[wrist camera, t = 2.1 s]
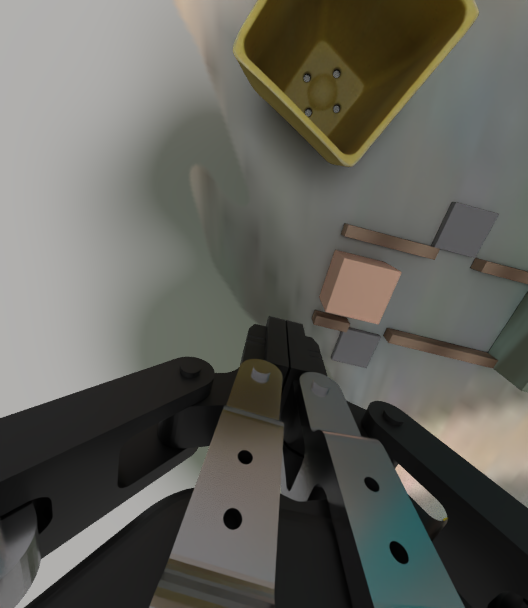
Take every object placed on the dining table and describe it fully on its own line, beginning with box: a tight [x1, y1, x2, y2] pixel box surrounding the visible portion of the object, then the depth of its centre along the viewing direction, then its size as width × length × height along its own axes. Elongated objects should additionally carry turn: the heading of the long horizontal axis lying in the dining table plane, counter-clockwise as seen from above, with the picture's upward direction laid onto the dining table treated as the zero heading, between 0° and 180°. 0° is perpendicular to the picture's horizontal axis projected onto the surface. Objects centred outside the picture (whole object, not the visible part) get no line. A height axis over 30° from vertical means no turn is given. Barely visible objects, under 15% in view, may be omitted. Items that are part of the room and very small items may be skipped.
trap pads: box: [331, 202, 499, 368], centre depth 27 cm, size 5×20×1 cm, turn 147°
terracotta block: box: [319, 250, 402, 324], centre depth 25 cm, size 5×5×4 cm
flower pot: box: [233, 0, 479, 167], centre depth 17 cm, size 9×9×9 cm
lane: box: [312, 224, 528, 392], centre depth 25 cm, size 22×10×5 cm, turn 76°
